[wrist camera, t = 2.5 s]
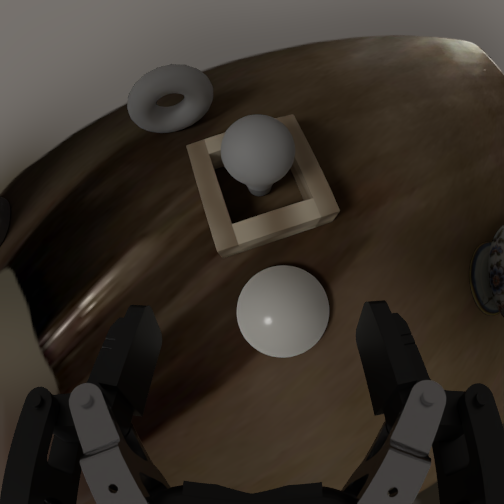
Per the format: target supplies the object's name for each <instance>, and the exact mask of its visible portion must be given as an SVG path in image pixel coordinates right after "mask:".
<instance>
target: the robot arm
mask: <svg viewBox="0 0 504 504" xmlns="http://www.w3.org/2000/svg"><path fill="white" fill-rule="evenodd" d="M9 221H10V205H9V202H8V201H7V200H6V199H5V198H3V197H1V196H0V245H1V243H2V242H3V240H4V238H5V236H6V233H7V230H8V226H9ZM356 342H357V346H358V350H359V354H360V357H361V361H362V365H363V369H364V373H365V377H366V381H367V385H368V389H369V393H370V397H371V402H372V406H373V410H374V415H380V414H384V415H385V422H384V423H383V425H382V427H381V429H380V431H379V433H378V435H377V437H376V439H375V441H374V442H373V444H372V446H371V448H370V450H369V451H368V453H367V455H366V456H365V458H364V460H363V461H362V463H361V464H360V466H359V467H358V468H357V469H356V470H355V472H354V473H353V474H352V476H351V477H350V478H349V480H348V481H347V483H346V484H345V486H344V487H343V489H342V490H341V491H340V490H337V489H334V488H329V487H323V486H322V482H320V483H311V484H300V485H287V486H284V487H280V488H276V489H272V490H268V491H264V492H259V493H254V494H250V493H245V492H241V491H237V490H234V489H230V488H226V487H223V486H220V485H216V484H205V483H196V482H188V481H184V483H183V485H181V486H176V487H170V485H169V484H168V482H167V481H166V479H165V478H164V476H163V475H162V473H161V472H160V471H159V470H158V468H157V467H156V466H155V465H154V464H153V462H152V461H151V459H150V457H149V456H148V454H147V452H146V450H145V448H144V446H143V444H142V443H141V441H140V439H139V437H138V435H137V433H136V431H135V429H134V426H133V424H132V423H131V420H132V416H133V415H137V416H143V413H144V409H145V405H146V401H147V397H148V393H149V389H150V385H151V381H152V377H153V374H154V370H155V366H156V363H157V359H158V356H159V352H160V349H161V344H162V335H161V331H160V328H159V326H158V323H157V321H156V318H155V316H154V313H153V311H152V308H151V307H150V306H142V305H131V306H130V307H129V308H128V310H127V312H126V315H125V317H124V318H119V319H118V320H117V321H116V322H115V323H114V324H113V325H112V326H111V327H110V330H109V332H108V334H107V336H106V340H105V341H104V343H103V345H102V349H101V350H100V352H99V355H98V357H97V359H96V362H95V364H94V367H93V369H92V372H91V374H90V377H89V379H88V381H87V383H84V384H81V385H79V386H77V387H76V388H75V389H74V390H73V391H72V393H70V394H58V395H52V394H51V393H50V392H49V391H48V390H47V389H46V388H44V387H37V388H34V389H33V390H31V391H30V393H29V394H28V396H27V397H26V400H25V403H24V405H23V408H22V411H21V414H20V417H19V420H18V423H17V427H16V430H15V433H14V437H13V440H12V444H11V448H10V451H9V455H8V460H7V464H6V469H5V474H4V479H3V484H2V491H1V497H0V504H76V501H77V493H78V486H79V480H80V474H81V469H82V471H83V473H84V476H85V478H86V481H87V483H88V485H89V488H90V490H91V492H92V495H93V497H94V499H95V501H96V503H97V504H412V503H413V501H414V500H415V498H416V496H417V494H418V492H419V490H420V488H421V486H422V484H423V482H424V479H425V477H426V475H427V473H428V471H429V468H430V465H431V458H429V456H428V455H429V451H430V448H431V446H432V448H433V453H434V459H435V466H436V473H437V480H438V488H439V499H440V504H504V430H503V426H502V422H501V419H500V416H499V412H498V409H497V406H496V403H495V400H494V397H493V394H492V392H491V391H490V389H489V388H488V387H487V386H485V385H483V384H480V383H477V384H473V385H472V386H470V387H469V388H468V389H467V390H466V391H465V392H462V391H447V390H444V389H443V388H442V387H441V386H440V385H439V384H438V383H436V382H434V381H431V379H430V378H429V376H428V373H427V370H426V368H425V365H424V363H423V360H422V358H421V355H420V353H419V350H418V348H417V345H416V344H415V341H414V338H413V336H412V335H411V332H410V329H409V327H408V325H407V323H406V321H405V320H404V319H403V318H402V317H401V316H400V315H399V314H398V313H391V311H390V309H389V307H388V304H387V303H386V301H384V300H383V301H371V302H365V304H364V306H363V309H362V313H361V316H360V319H359V322H358V326H357V329H356ZM52 434H54V439H53V442H52V446H51V451H50V455H49V460H48V462H47V454H48V450H49V446H50V442H51V438H52ZM389 494H390V495H389ZM388 495H389V496H388Z"/></svg>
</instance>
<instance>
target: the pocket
mask: <svg viewBox="0 0 504 504" xmlns="http://www.w3.org/2000/svg"><path fill="white" fill-rule="evenodd" d="M275 119H277V120H278V121H280V122H281V123H283V124H284V125H285V126H286V127H287V128H288V130H289V132H290V133H291V135H292V137H293V140H294V144H295V157H294V162H293V164H292V166H291V168H290V169H291V172H292V174H293V176H294V178H295V181H296V183H297V185H298V188H299V190H300V192H301V195H302V197H303V200H304V201H302V202H299V203H295V204H292V205H289V206H286V207H283V208H280V209H277V210H273V211H270V212H267V213H264V214H261V215H258V216H255V217H252V218H249V219H246V220H243V221H240V222H237V223H234V224H232V222H231V218H230V215H229V212H228V209H227V206H226V203H225V200H224V197H223V194H222V191H221V188H220V185H219V182H218V179H217V176H216V173H215V170H214V169H217V168H220V167H223V166H224V164H223V162H222V158H221V143H222V139H223V137H224V134H225V133H226V132H225V133H222V134H219V135H216V136H213V137H210V138H207V139H204V140H201V141H198V142H195V143H192V144H189V145H187V150H188V154H189V157H190V161H191V165H192V168H193V172H194V175H195V179H196V182H197V186H198V189H199V193H200V196H201V199H202V203H203V206H204V210H205V213H206V216H207V220H208V223H209V226H210V230H211V233H212V236H213V239H214V243H215V246H216V249H217V252H218V253H219V254H220V256H221V257H222V258H226V257H229V256H232V255H234V254H237V253H240V252H243V251H246V250H249V249H252V248H255V247H258V246H261V245H264V244H267V243H270V242H273V241H276V240H279V239H282V238H285V237H288V236H291V235H294V234H297V233H300V232H303V231H306V230H309V229H312V228H315V227H318V226H321V225H324V224H327V223H330V222H332V221H333V220H334V218H335V217H336V216H337V214H338V213H339V212H340V209H339V207H338V205H337V203H336V200H335V198H334V196H333V193H332V191H331V189H330V187H329V185H328V182H327V180H326V178H325V176H324V174H323V172H322V170H321V168H320V165H319V163H318V161H317V159H316V157H315V155H314V153H313V151H312V149H311V147H310V145H309V143H308V141H307V139H306V137H305V135H304V134H303V132H302V130H301V128H300V126H299V124H298V122H297V120H296V119H295V117H294V115H293V114H292V115H287V116H283V117H279V118H275Z"/></svg>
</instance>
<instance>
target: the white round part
mask: <svg viewBox="0 0 504 504" xmlns="http://www.w3.org/2000/svg"><path fill="white" fill-rule="evenodd" d="M237 320H238V324H239V328H240V330H241V332H242V334H243V336H244V337H245V339H246V340H247V341H248V343H249V344H251V345H252V346H253V347H254V348H255V349H257V350H258V351H260V352H262V353H264V354H266V355H269V356H273V357H292V356H296V355H299V354H301V353H303V352H305V351H307V350H309V349H310V348H311V347H313V346H314V345H315V344H316V343H317V342H318V341H319V339H320V338H321V337H322V335H323V333H324V331H325V329H326V327H327V324H328V320H329V302H328V298H327V295H326V293H325V290H324V289H323V287H322V285H321V284H320V283H319V281H318V280H317V279H316V278H315V277H314V276H312V275H311V274H310V273H308V272H306V271H305V270H303V269H300V268H297V267H294V266H287V265H280V266H274V267H270V268H267V269H265V270H262V271H261V272H259V273H257V274H256V275H255V276H253V277H252V278H251V279H250V280H249V281H248V282H247V284H246V285H245V286H244V288H243V290H242V292H241V294H240V296H239V300H238V304H237Z"/></svg>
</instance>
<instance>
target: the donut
mask: <svg viewBox="0 0 504 504" xmlns="http://www.w3.org/2000/svg"><path fill="white" fill-rule="evenodd" d="M171 93H179V94H182V95H184V99H183V100H182V101H181V102H180V103H178V104H176V105H174V106H170V107H162V106H158V105H157V104H156V102H157V100H159V99H160V98H161V97H163V96H165V95H167V94H171ZM212 100H213V86H212V84H211V82H210V81H209V79H208V77H207V76H206V75H205V74H204V73H202V72H201V71H200V70H198V69H196V68H193V67H190V66H187V65H172V64H171V65H167V66H162V67H159V68H156V69H154V70H152V71H150V72H148V73H146V74H145V75H144V76H143V77H142V78H141V79H140V80H138V81H137V82H136V83H135V84H134V86H133V88H132V90H131V92H130V93H129V96H128V104H127V109H128V112H129V115H130V117H131V119H132V120H133V121H134V122H135V123H136V124H137V125H138V126H139V127H140V128H143V129H145V130H147V131H151V132H157V133H169V132H174V131H179V130H182V129H184V128H187V127H189V126H191V125H193V124H194V123H195V122H197V121H198V120H200V119H201V118H202V117H203V116H204V115H205V114H206V112H207V111H208V110H209V108H210V105H211V103H212Z"/></svg>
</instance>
